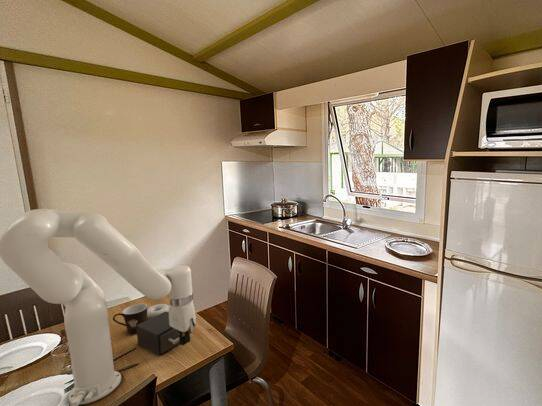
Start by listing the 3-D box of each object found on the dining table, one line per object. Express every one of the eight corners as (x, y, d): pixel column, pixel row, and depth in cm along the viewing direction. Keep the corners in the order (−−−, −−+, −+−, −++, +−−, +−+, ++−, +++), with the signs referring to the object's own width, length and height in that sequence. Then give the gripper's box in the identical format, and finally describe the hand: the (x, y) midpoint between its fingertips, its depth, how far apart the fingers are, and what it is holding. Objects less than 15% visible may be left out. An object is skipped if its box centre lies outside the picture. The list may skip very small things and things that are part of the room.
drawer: (195, 340, 111) (194, 325, 110) (169, 356, 102) (168, 340, 101) (168, 329, 118) (167, 315, 117) (142, 343, 109) (141, 328, 108)
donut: (174, 312, 133) (163, 306, 138) (173, 306, 132) (162, 300, 137) (151, 322, 124) (140, 315, 130) (150, 315, 124) (140, 309, 129)
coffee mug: (154, 325, 123) (152, 304, 121) (138, 337, 114) (135, 315, 113) (130, 323, 124) (128, 302, 122) (112, 334, 115) (110, 312, 114)
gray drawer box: (187, 338, 114) (186, 319, 113) (159, 355, 104) (157, 335, 102) (167, 329, 120) (165, 311, 118) (138, 345, 109) (136, 325, 108)
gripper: (159, 298, 103) (163, 342, 105) (184, 308, 96) (188, 355, 99) (179, 290, 109) (182, 332, 112) (203, 299, 103) (206, 343, 106)
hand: (185, 342), depth 106 cm, fingers closed
